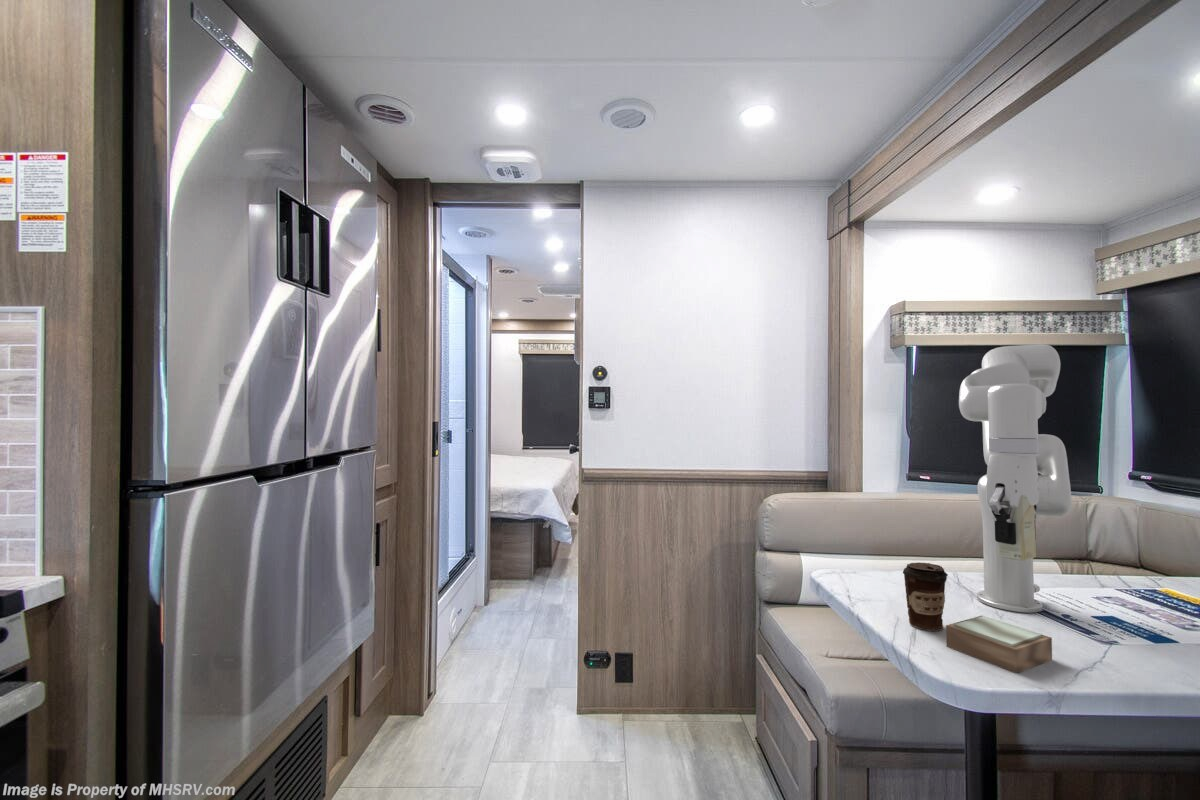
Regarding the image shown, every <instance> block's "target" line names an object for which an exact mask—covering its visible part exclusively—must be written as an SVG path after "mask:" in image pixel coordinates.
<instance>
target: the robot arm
mask: <svg viewBox="0 0 1200 800" xmlns="http://www.w3.org/2000/svg"><path fill="white" fill-rule="evenodd" d="M1060 372H1061V359H1060V355H1059V353H1058V351H1057V350H1056V349H1055V348H1054V347H1053V346H1052V345H1049V344H1047V343H1046V344H1043V343H1039V344H1036V343H1035V344H1024V345H1023V344H1022V345H1007V346H1000V347H995V348H993V349H990V350H988V352H986V353H985V354H984V356H983V357H982V360H981V368H978V369H975V370H974V371H972V372H971V373H970V374H969V375H967V376H966V377H965V378H964V379H963V380H962V382H961V384H960V387H959V393H958V395H959V396H958V408H959V411H960V414H961V416H962V417H963V418H964V419H965V420H968V421H972V422H981V424H982V445H983V446H982V447H983V457H984V458H983V459H984V463H985V465H987V468H986V470H987V471H986V474H984V475H982V476H981V477H980V478H979V479H978V482H977V495H978V500H979V505H980V512H981V521H982V541H983V542H982V543H983V544H982V547H983V548H982V549H983V552H982V553H983V581H984V582H983V583H984V584H983V586H984V587H983V589H984V590H981V591H978V592H976V598H977V600H978V601H979V602H980V603H982V604H985V605H987V606H990V607H993V608H996V609H999V610H1000V609H1001V610H1005V611H1011V612H1014V613H1015V612H1016V613H1026V614H1027V613H1030V614H1031V613H1039V612H1042V611H1043V609H1044V607H1043V603H1042V602H1041V601H1039V600H1038V599H1035V594H1036V593H1038V592H1040V591H1041V588H1040V586H1039V585H1038V584H1036V583H1035V582H1034V579H1035V578H1034V577H1035V576H1034V558H1031V559H1029V560H1026V561H1023V560H1015V559H1010V558H1004V557H1000V556H998V542H1001V543H1006V544H1011V545H1014V544H1016V523H1012V522H1013V518H1014V514H1015V508H1018V507H1020V502H1021V495H1022V496H1024V495H1026V496H1027V499H1028V501H1029V503H1030V505H1034V519H1035V520H1036V519H1037V516H1042V517H1043V516H1046V517H1064V516H1066V515H1069V512H1071V509H1072V503H1073V502H1072V501H1073V499H1072V491H1071V490H1072V489H1071V481H1070V473H1069V465H1068V456H1067V450H1066V446H1065V444H1064V443H1063V441H1062V440H1061V438H1060V437H1058V436H1056V435H1053V434H1046V433H1042V434H1041V433H1040V434H1039V427H1038V425H1039V424H1038V423H1039V422H1038V421H1039V419H1040V418H1041V417H1042V415H1043V414H1045V413H1046V410H1047V397H1050V396H1051V395H1053V393H1054V392H1055V391H1056V387H1057V382H1058V380H1059V376H1060ZM1001 502H1006V503H1010V504H1009V505H1010V506H1009V505H1001ZM1005 510H1008V515H1007V513H1006V511H1005ZM1036 530H1037V529H1036V526H1035V541H1036V539H1037V538H1036V537H1037V535H1036V534H1037V533H1036V532H1037V531H1036Z"/></svg>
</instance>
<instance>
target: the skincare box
mask: <svg viewBox="0 0 1200 800" xmlns="http://www.w3.org/2000/svg"><path fill="white" fill-rule="evenodd" d="M1009 504H1010V503H1006V502H1001V505H1009ZM1009 506H1010V505H1009ZM1005 511H1006V513H1007V515H1008V510H1005ZM1012 523H1016V544H1014V545H1011V544H1006V543H1001V542H998V556H1000V557H1004V558H1010V559H1015V560H1023V561H1026V560H1029V559H1031V558H1033V559H1034V558H1036V557H1037V550H1036V549H1037V548H1036V547H1037V545H1036V543H1037V542H1036V540H1035V527H1036V519H1034V505H1030V503H1029V501H1028V499H1027V496H1026V495H1024V496H1022V495H1021V502H1020V507H1018V508H1015V514H1014V518H1013V522H1012Z"/></svg>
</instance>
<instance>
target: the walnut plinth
mask: <svg viewBox="0 0 1200 800" xmlns="http://www.w3.org/2000/svg"><path fill="white" fill-rule="evenodd" d="M945 635H946V636H945V638H946V639H945V640H946V641H945V643H946V644H945V646H946V647H947V648H950V649H953V650H955V651H958V652H960V653H963V654H965V655H968V656H971V657H974V658H975V659H978V660H981V661H983V662H986V663H988V664H990V665H994V666H996V667H998V668H1002V669H1004V670H1006V671H1009V672H1011V673H1014V674H1018V673H1021V672H1025V671H1026V670H1029V669H1031V668H1034V667H1037V666H1039V665H1042V664H1045V663H1047V662H1050V661H1052V660H1053V644H1052V643H1053V639H1052V638H1053V637H1051V636H1048V635H1045V634H1042V633H1039V632H1035V631H1033V630H1029V629H1026V628H1024V627H1020V626H1017V625H1014V624H1011V623H1008V622H1004V621H1001V620H998V619H995V618H992V617H989V616H986V615H979V616H975V617H972V618H971V617H970V618H968V619H964V620H960V621H958V622H953V623H949V624H946V625H945Z"/></svg>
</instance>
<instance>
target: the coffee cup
mask: <svg viewBox="0 0 1200 800" xmlns="http://www.w3.org/2000/svg"><path fill="white" fill-rule="evenodd" d="M902 573H903V575H904V577H903V578H904V587H905V596H906V606H907V614H908V622H909V624H910V626H912V627H914V628H917V629H920V630H925V631H933V632H934V631H935V632H936V631H942V630H944V628H945V627H944V624H943V614H944V607H945V602H946V593H945V587H946V582H947V579H948V578H947V577H948V575H949V574H948V572H946V571H945V568H944V567H943V566H941V565H939V564H933V563H929V562H928V563H927V562H911V563H906V566H905V567H904V569H903V571H902Z"/></svg>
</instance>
